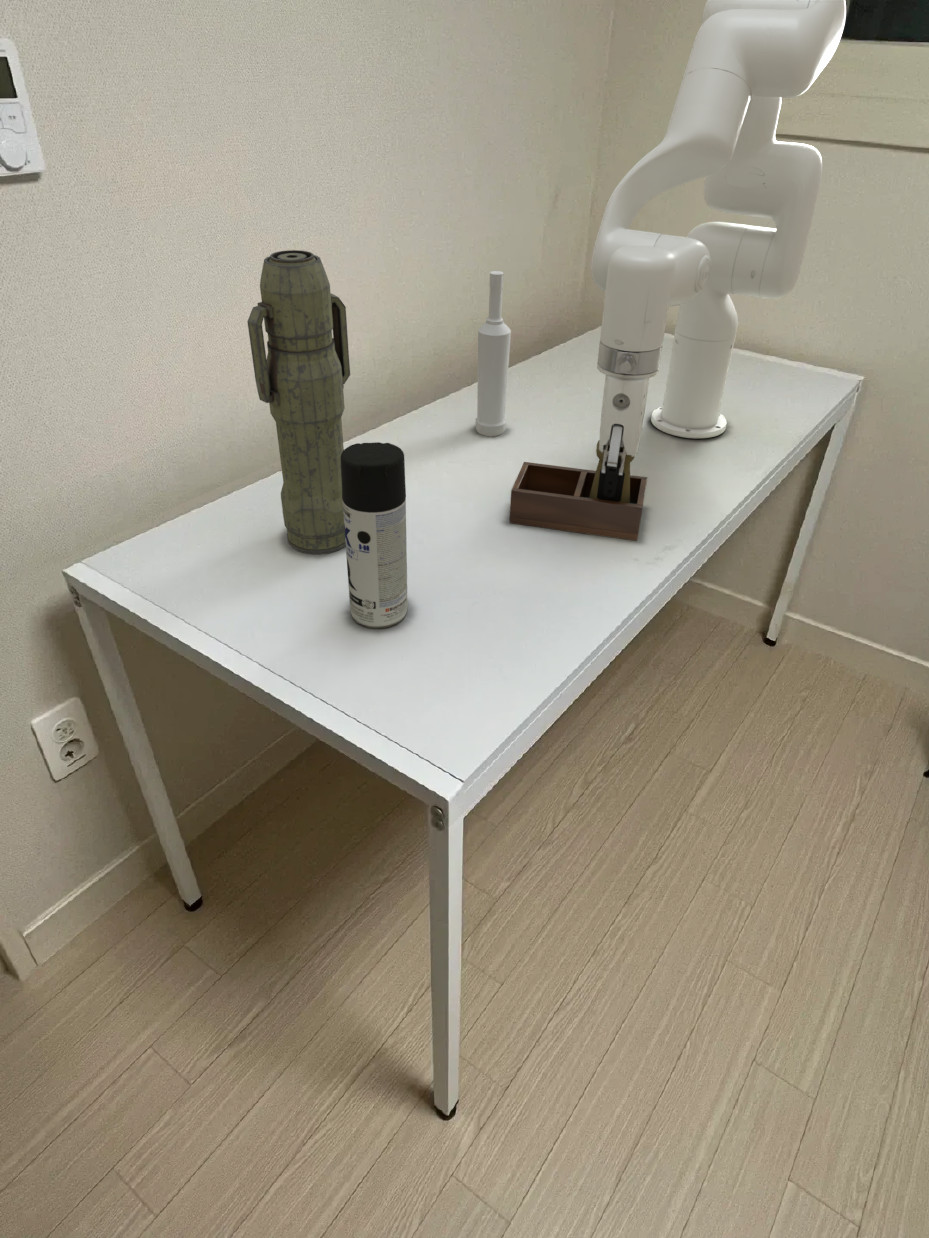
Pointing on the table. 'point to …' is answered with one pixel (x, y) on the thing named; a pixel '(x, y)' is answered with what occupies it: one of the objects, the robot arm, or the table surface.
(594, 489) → the cork
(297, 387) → the thermos
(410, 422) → the table surface
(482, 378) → the bottle
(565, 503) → the caddy
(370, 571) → the spray can
